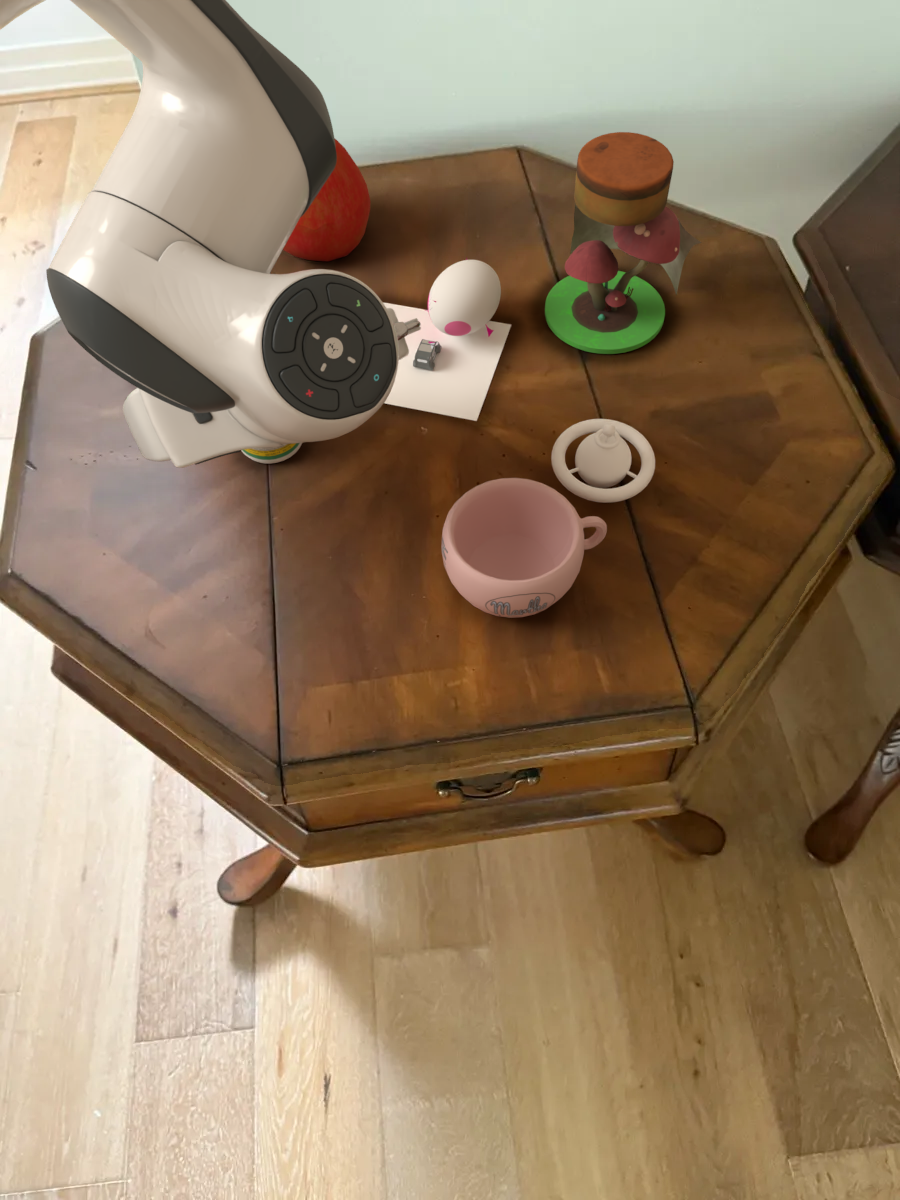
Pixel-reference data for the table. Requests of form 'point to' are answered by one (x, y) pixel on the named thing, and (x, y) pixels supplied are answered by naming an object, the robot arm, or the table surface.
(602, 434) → the ring around a ball
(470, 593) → the mug
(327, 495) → the table surface
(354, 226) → the apple
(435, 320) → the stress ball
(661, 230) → the mushroom terrarium figurine
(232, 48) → the robot arm
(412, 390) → the thin white square mat
